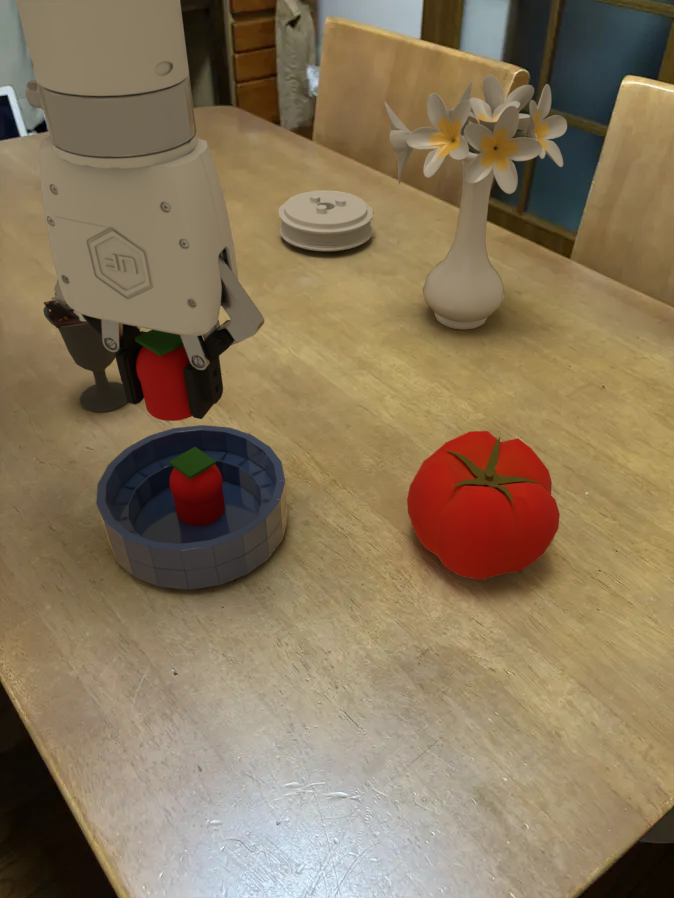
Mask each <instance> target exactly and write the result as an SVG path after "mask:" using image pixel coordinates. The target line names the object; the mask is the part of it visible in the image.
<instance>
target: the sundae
mask: <svg viewBox="0 0 674 898" xmlns="http://www.w3.org/2000/svg"><path fill="white" fill-rule="evenodd" d="M43 304H44V307H43V316H44V317H45V318H46V320H47V321H48V322H49V323H50V324H51V325H53V326H54V327H55V328H56V329H57V330H58V332H59V334H60V337H61V338H62V340H63V342H64V345H65V347H66V350H67V351H68V353H69V355H70V357H71V359H72V360H73V362H74V364H75V365H77V366H78V367H79V368H81V369H83V370H86V371H90V372H91V373H92V374H93V378H94V384H93V385H91V386H89V387H87V388H86V389H84V390H83V391H82V393H81V394H80V396H79V404H80V405H81V407H83V408H84V409H86V410H87V411H91V412H95V413H106V412H111V411H115V410H117V409H120V408H121V407H123V406H125V405H126V404H128V402H127V399H126V395H125V391H124V387H123V383H122V382H117V381H109V380H108V377H107V374H106V373H107V372H106V369H107V368H109V366H111V364H112V363H113V362H114V360H116V357H115V353H114V352H111V351H109V350H107V349H106V348H105V347H104V345H103V342H102V335H101V334H100V333H98V332H97V331H96V330H95V329H94V328H93V327H92V326H91V325H90V324H89V323H88V322H87V321H86V320H85V319H84V318H83V316H82V314H81V313H79V312H77V311H75V310H74V309H72V308H71V307H70V306H69V305H68V304H67V303H66V302H65V301H63V300H62V299H61V298H59V297H58V296H57V295H56V293H55V292H54V296H53V297H51V299H50V300H48V301H43Z"/></svg>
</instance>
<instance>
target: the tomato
mask: <svg viewBox="0 0 674 898" xmlns="http://www.w3.org/2000/svg"><path fill="white" fill-rule="evenodd" d="M552 481H553V480H552V478H551V473H550V470H549V469H548V467H547V466H546V465H545V463H544V462H543V461H542V460H541V458H540V457H539V456H538V454H537V453H536V452H535V451H534V450H533V448H531V447H530V446H529V445H527V444H526V443H525V442H524V441H523V440H521V439H520V438H512V439H508V440H504V441H503V440H502V441H501V436H499V437H498V438H497V437H496V436H495V435H493V434H492V433H491V432H490V431H488V430H478V431H477V430H476V431H475V430H473V431H468V432H465V433H463V434H461V435H459V436H457V437H454V438H452V439H450V440H448V441H446V442H445V443H444V444H442V445H441V446H440V447H439V448H438V449H437V450H435V452H433V453H432V454H431V455H430V456H428V457H427V458H426V459H425V460H423V462H422V463H421V465H420V467H419V469H418V471H417V472H416V474H415V476H414V478H413V479H412V481H411V483H410V485H409V489H408V492H407V499H406V505H407V514H408V517H409V520H410V523H411V525H412V527H413V530H414V532H415V535H416V537H417V539H418V540H419V542H420V543H421V544H422V546H423V547H424V548H425V550H428V551H429V552H430V553H432V554H434V555H435V556H437V558H438V559H439V561H440V562H441V564H443V566H444V567H445V568H446V569H448V570H449V571H451V572H453V573H454V574H456V575H458V576H460V577H465V578H469V579H475V580H480V581H481V580H486V579H490V578H494V577H497V576H501V575H505V574H506V575H507V574H511V573H513V574H514V573H517V572H522V571H523V570H525V569H526V568H528V567H529V566H530V565H532V564H534V562H536V561H538V560H539V559H540V558H541V557H542V556H544V554H545V553H546V551H547V549H549V547H550V545H551V543H552V542H553V540H554V538H555V536H556V534H557V532H558V531H559V529H560V528H559V527H560V516H561V514H560V510H559V507H558V503H557V501H556V499H555V497H554V496H553V495H552V488H553V487H552V486H553V484H552Z"/></svg>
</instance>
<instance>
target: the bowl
mask: <svg viewBox="0 0 674 898" xmlns="http://www.w3.org/2000/svg"><path fill="white" fill-rule="evenodd" d="M194 447H196V448H198V449H199V450H201V451H202V452H204V453H205V454H207V455H208V456H209V457H211V458H212V459H214V460H215V461H216V464H215V465H216V466H217V468H218V469H219V471H220V473H221V475H222V481H223V485H222V489H223V496H224V503H225V510H224V512H223V514H222V516H221V517H220V518H219V519H217V520H216V521H214V522H212V523H210V524H207V525H202V526H193V525H189V524H186V523H184V522H182V521H181V520H180V519H179V518H178V516H177V513H176V508H175V503H174V498H173V494H172V492H171V489H170V476H171V473H172V471H173V469H174V467H173V466H171V465H170V463H169V461H171V460H173V459H175V458H176V457H178V456H180V455H181V454H183V453H185V452H187V451H188V450H190V449H192V448H194ZM287 499H288V498H287V485H286V476H285V472H284V468H283V463H282V461H281V459H280V458H279V457H278V455H277V454H276V453H275V451H274V450H273V449H272V447H271V446H270V445H268V444H266V443H265V442H264V441H262V440H261V439H259V438H257V437H256V436H254V435H252V433H248V432H245V431H241V430H239V429H237V428H233V427H228V426H220V425H219V426H218V425H205V424H202V425H201V424H198V425H191V426H179V427H173V428H170V429H166V430H163V431H160V432H157V433H153V434H150V435H148V436H146V437H143V438H142V439H141V440H138V441H136V442H135V443H133V444H131V445H129V446H127V447H126V448H124V449H123V450H122V451H121V452H120V453H119V454H118V455H117V456H116V457H115V458H114V459H112V461H111V462H109V464H108V465H107V466H106V468H105V470H104V471H103V473H102V475H101V477H100V479H99V480H98V483H97V487H96V501H95V505H96V508H97V512H98V515H99V518H100V521H101V524H102V528H103V531H104V535H105V538H106V541H107V543H108V546H109V548H110V550H111V553H112V555H113V558H114V559H115V562H116V563H117V564H118V565H119V566H120V567H122V568H123V569H124V570H125V571H126V572H127V573H129V574H130V575H131V576H132V577H133V578H135V579H138V580H140V581H143V582H145V583H148V584H151V585H154V586H156V587H159V588H166V589H167V588H168V589H177V590H186V591H188V590H196V589H197V590H198V589H203V588H211V587H216V586H221V585H224V584H226V583H229V582H232V581H234V580H237V579H239V578H242V577H244V576H246V575H249V574H250V573H251V572H253V571H254V570H255V569H257V568H258V567H260V566H261V565H262V564H263V563H265V562H266V561H268V560H269V559H270V558H271V556H272V555H273V554H274V552H275V551H276V549H277V548H278V547H279V545H280V544H281V543H282V541H283V539H284V537H285V533H286V529H287V524H288V520H289V517H288V514H289V513H288V501H287Z"/></svg>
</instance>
